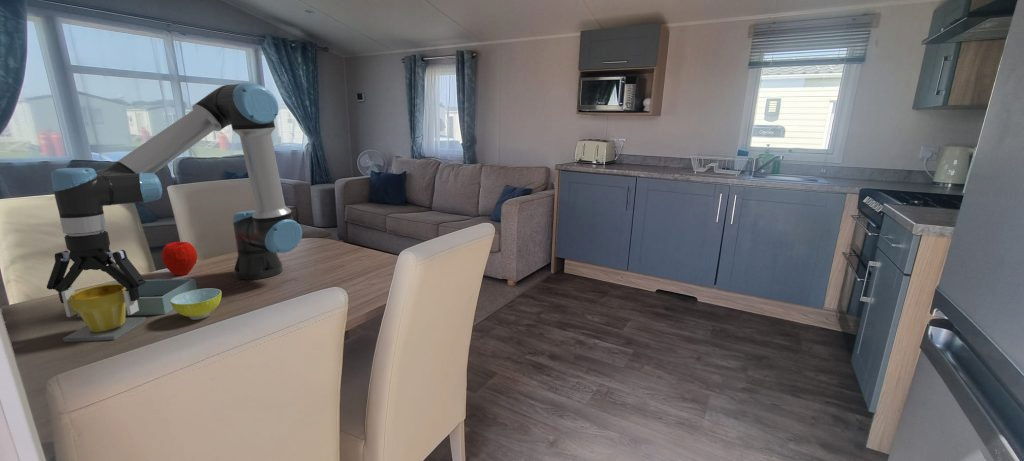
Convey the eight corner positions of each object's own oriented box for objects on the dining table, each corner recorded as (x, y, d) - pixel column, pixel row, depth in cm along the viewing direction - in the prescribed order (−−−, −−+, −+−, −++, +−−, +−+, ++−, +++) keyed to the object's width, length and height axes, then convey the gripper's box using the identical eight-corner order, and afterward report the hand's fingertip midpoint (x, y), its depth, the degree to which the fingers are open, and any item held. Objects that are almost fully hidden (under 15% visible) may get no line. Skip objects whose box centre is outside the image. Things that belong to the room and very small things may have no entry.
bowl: (167, 328, 109) (163, 306, 108) (181, 311, 119) (177, 291, 118) (219, 321, 114) (216, 300, 112) (228, 305, 124) (225, 286, 122)
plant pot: (100, 338, 101) (90, 300, 99) (67, 334, 103) (57, 297, 101) (144, 319, 111) (136, 284, 109) (113, 315, 113) (105, 281, 111)
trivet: (146, 320, 113) (145, 317, 113) (114, 339, 103) (113, 336, 103) (100, 322, 112) (100, 318, 112) (63, 342, 101) (63, 338, 101)
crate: (197, 293, 132) (195, 278, 131) (165, 314, 117) (162, 297, 116) (121, 295, 129) (117, 280, 128) (77, 317, 114) (73, 300, 113)
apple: (206, 270, 154) (202, 238, 151) (181, 279, 144) (176, 245, 141) (183, 268, 155) (178, 236, 152) (157, 277, 146) (151, 243, 143)
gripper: (153, 228, 107) (167, 305, 112) (42, 229, 103) (61, 309, 108) (131, 235, 99) (147, 317, 104) (11, 236, 96) (33, 321, 101)
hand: (103, 313), depth 106 cm, fingers open, 13 cm apart
